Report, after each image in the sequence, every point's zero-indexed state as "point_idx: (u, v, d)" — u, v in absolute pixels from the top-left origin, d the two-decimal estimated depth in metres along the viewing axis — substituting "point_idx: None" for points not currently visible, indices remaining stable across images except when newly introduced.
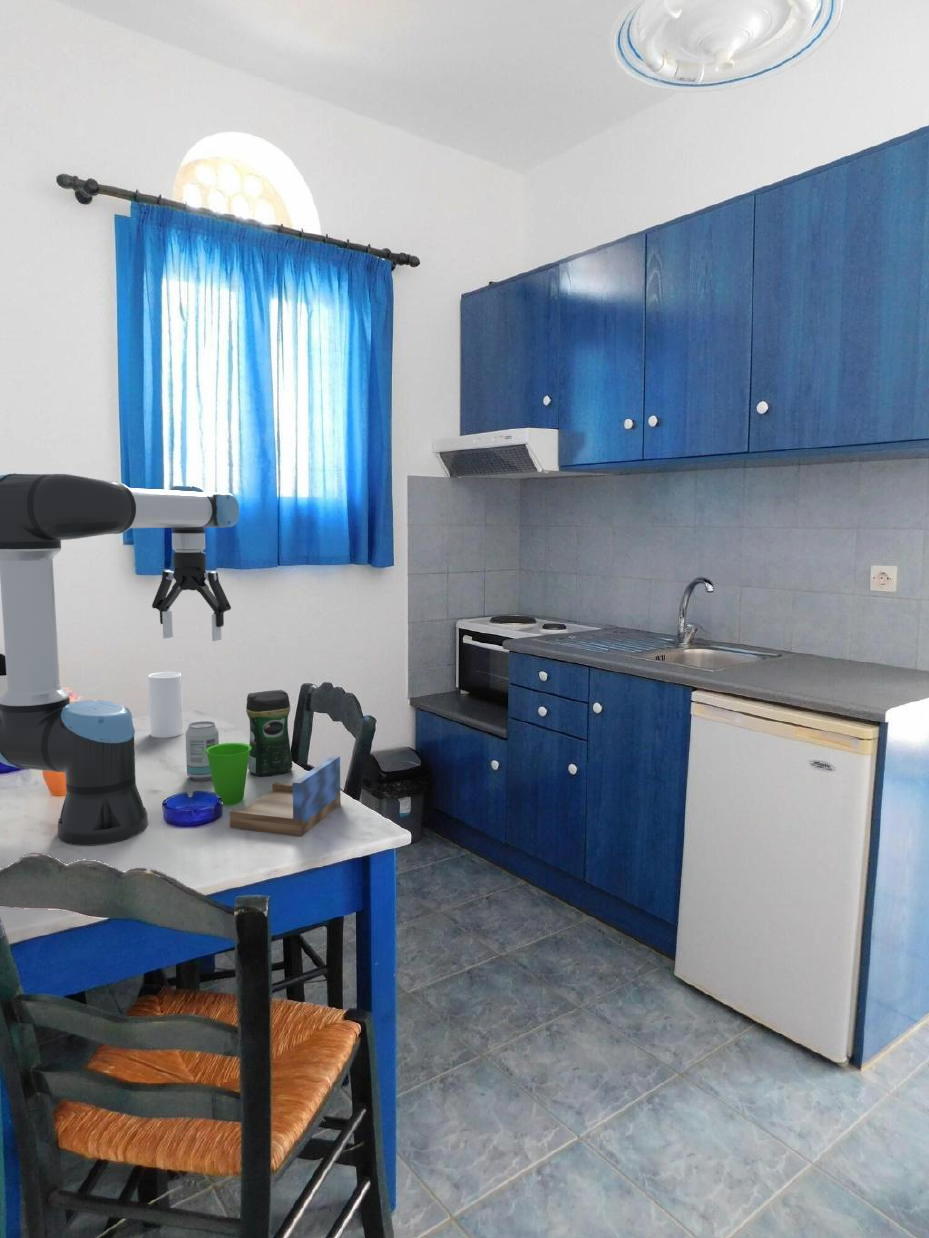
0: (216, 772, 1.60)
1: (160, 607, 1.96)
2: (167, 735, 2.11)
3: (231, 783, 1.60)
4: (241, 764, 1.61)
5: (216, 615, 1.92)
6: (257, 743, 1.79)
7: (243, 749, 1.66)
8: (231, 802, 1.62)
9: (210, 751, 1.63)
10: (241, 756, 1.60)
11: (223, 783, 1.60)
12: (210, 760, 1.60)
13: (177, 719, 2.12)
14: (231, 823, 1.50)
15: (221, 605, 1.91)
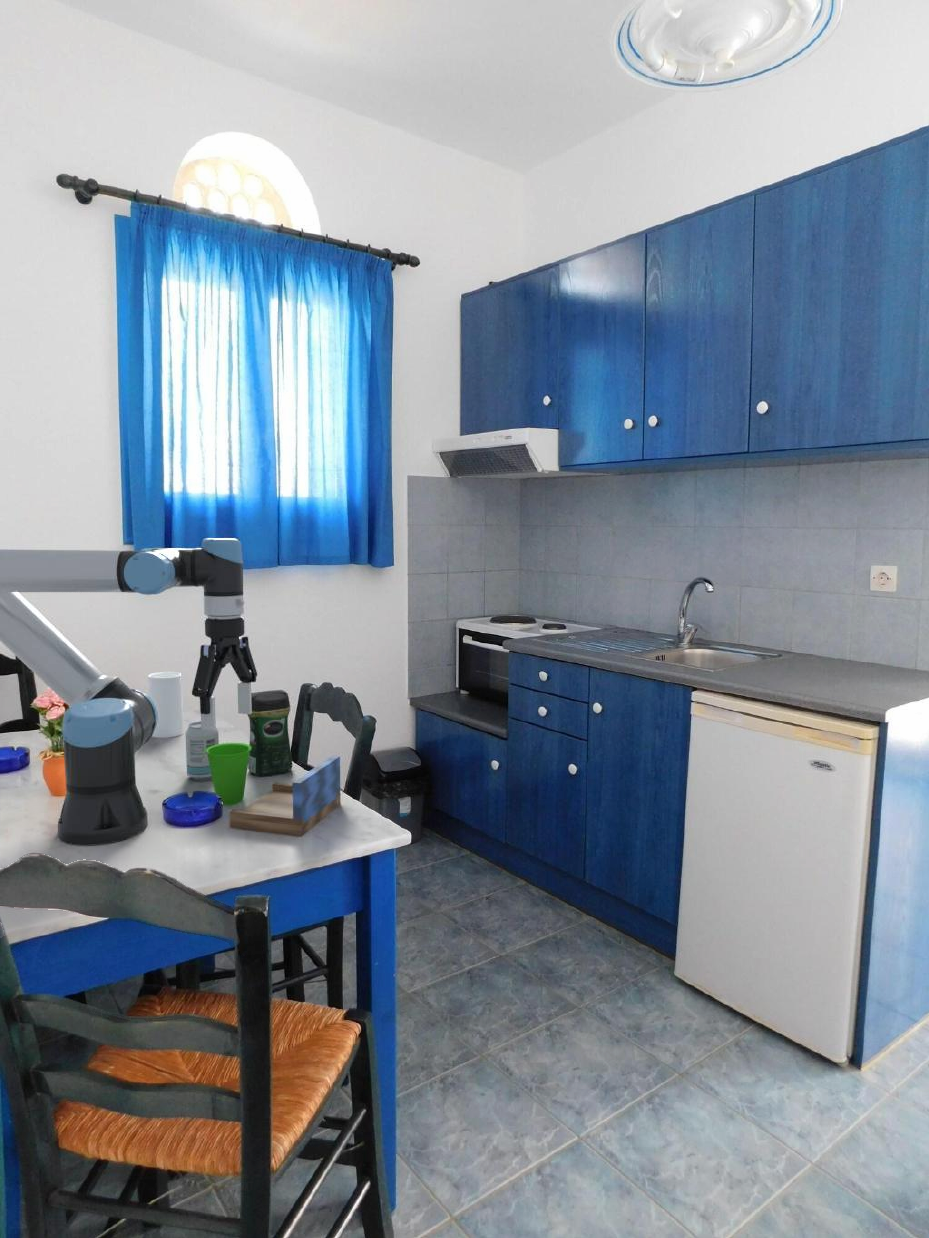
0: (216, 772, 1.60)
1: None
2: (167, 735, 2.11)
3: (231, 783, 1.60)
4: (241, 764, 1.61)
5: None
6: (257, 743, 1.79)
7: (243, 749, 1.66)
8: (231, 802, 1.62)
9: (210, 751, 1.63)
10: (241, 756, 1.60)
11: (223, 783, 1.60)
12: (210, 760, 1.60)
13: (177, 719, 2.12)
14: (231, 823, 1.50)
15: None
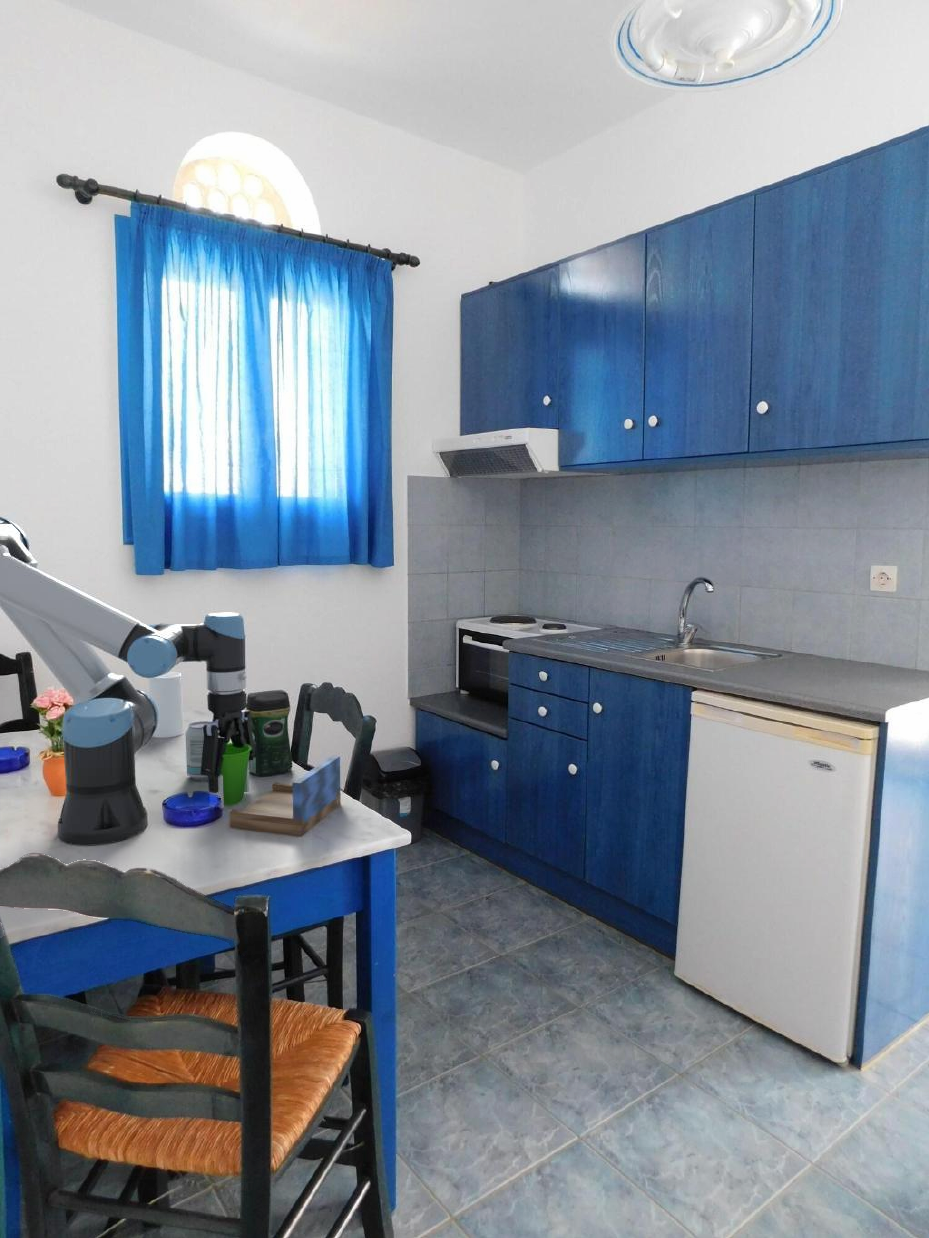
0: None
1: None
2: (167, 735, 2.11)
3: (231, 783, 1.60)
4: (241, 764, 1.61)
5: None
6: (257, 743, 1.79)
7: (243, 749, 1.66)
8: (231, 802, 1.62)
9: None
10: (241, 756, 1.60)
11: (223, 783, 1.60)
12: None
13: (177, 719, 2.12)
14: (231, 823, 1.50)
15: None
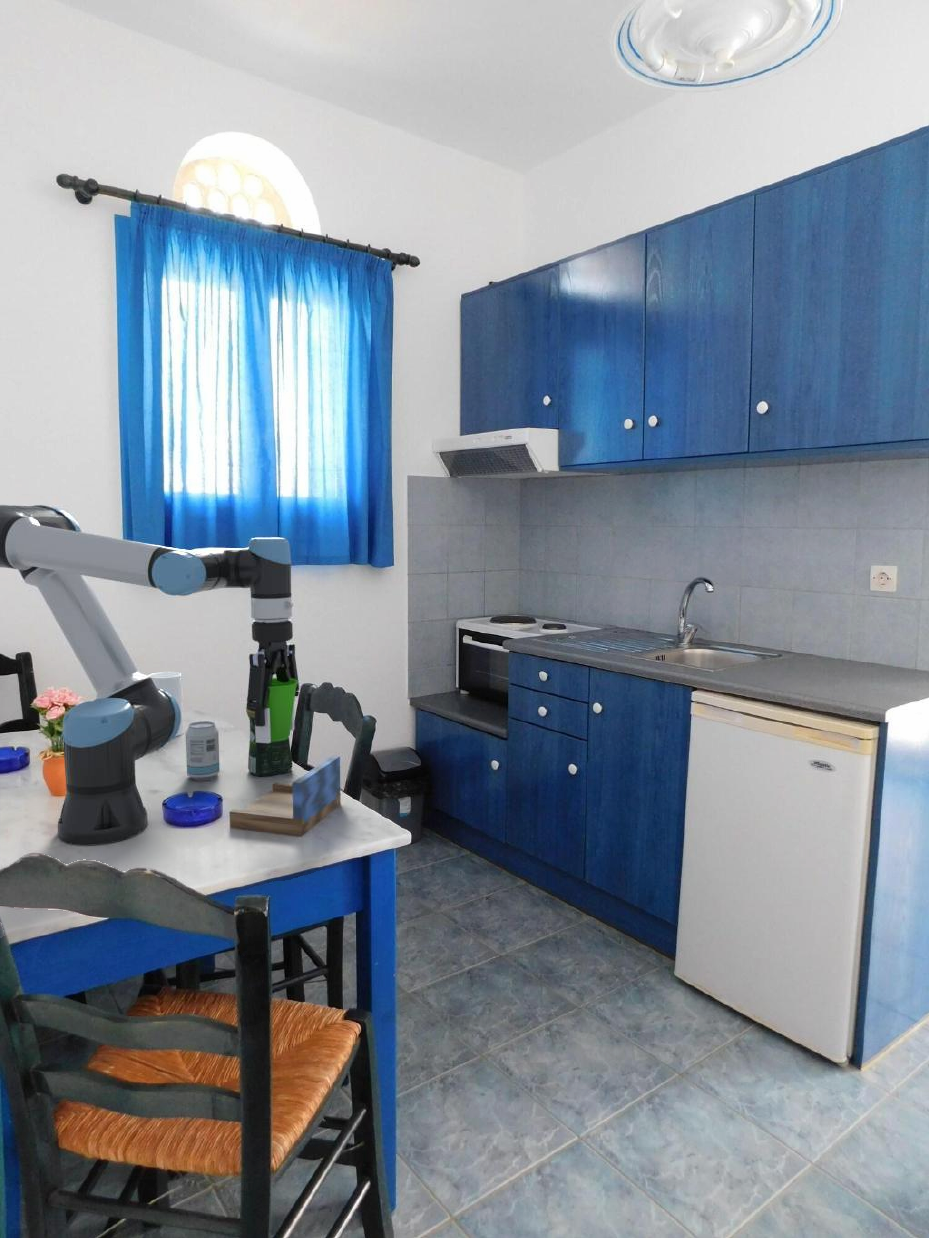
0: None
1: None
2: None
3: (278, 717, 1.52)
4: (288, 697, 1.52)
5: None
6: (257, 743, 1.79)
7: (289, 683, 1.57)
8: (278, 738, 1.53)
9: None
10: (288, 688, 1.52)
11: (270, 717, 1.51)
12: None
13: None
14: (231, 823, 1.50)
15: None
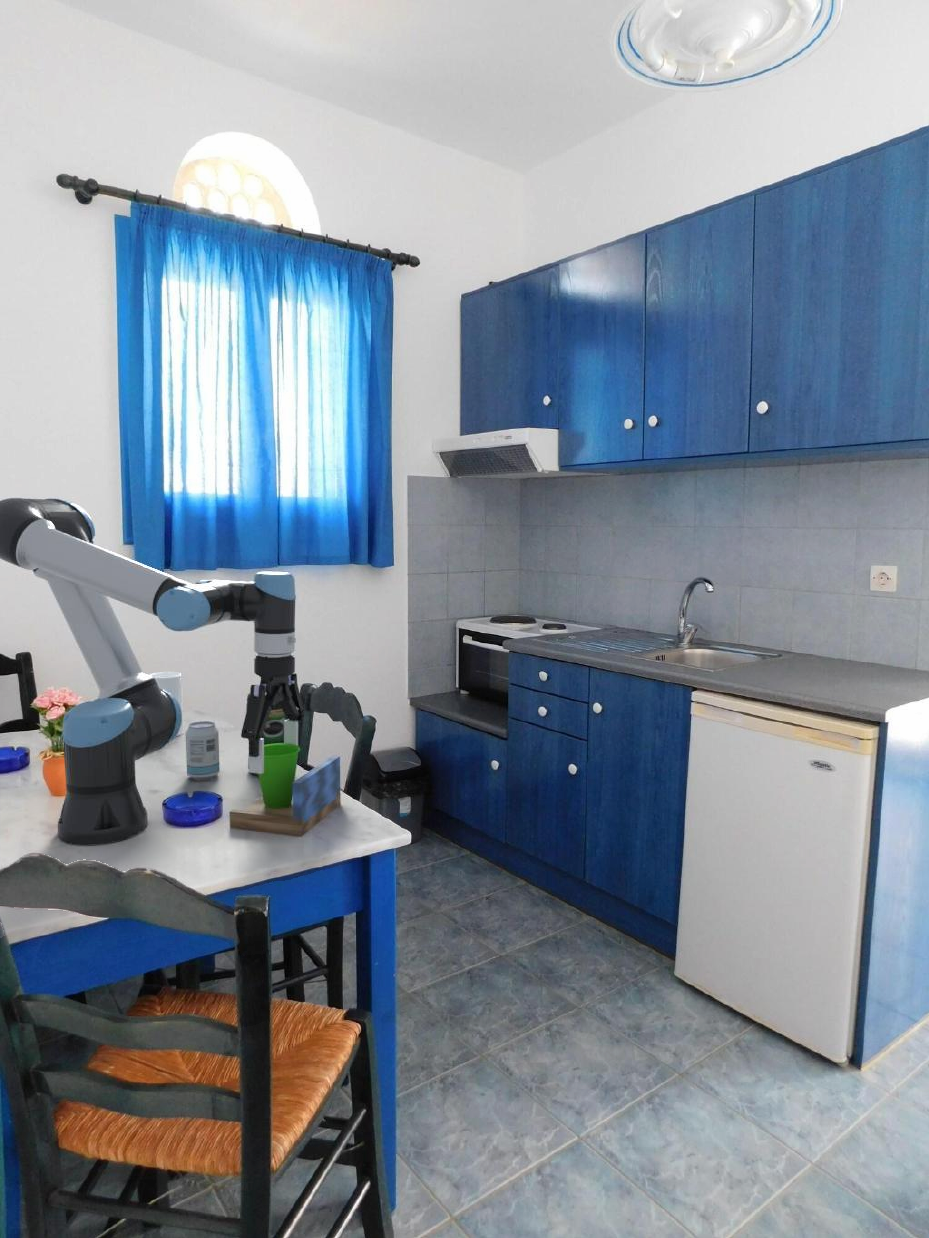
0: (265, 774, 1.52)
1: None
2: None
3: (280, 785, 1.53)
4: (290, 765, 1.53)
5: None
6: None
7: (291, 749, 1.59)
8: (280, 805, 1.54)
9: None
10: (290, 757, 1.53)
11: (272, 785, 1.53)
12: None
13: None
14: (231, 823, 1.50)
15: None
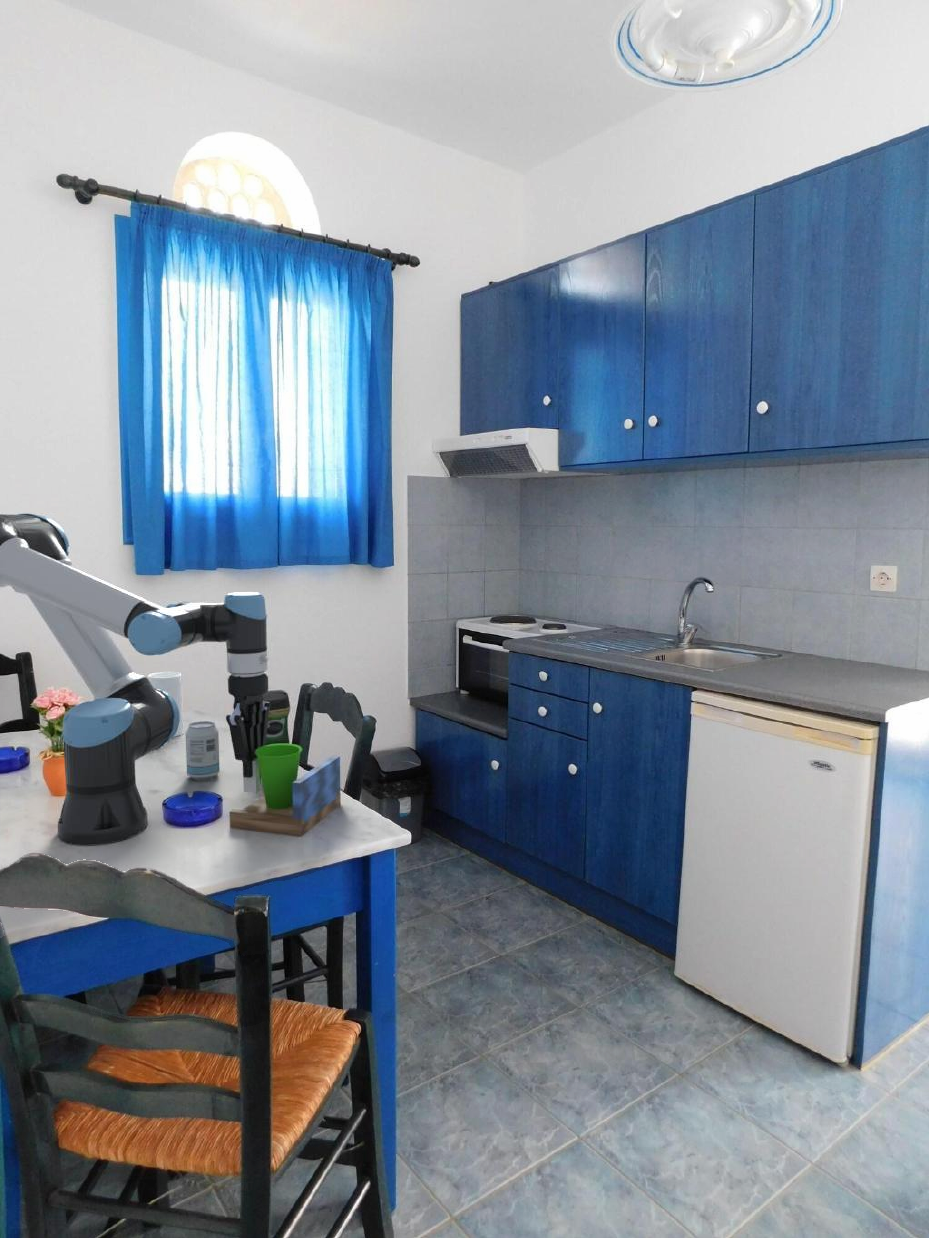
0: (267, 774, 1.52)
1: None
2: None
3: (282, 785, 1.53)
4: (292, 766, 1.53)
5: None
6: None
7: (293, 750, 1.58)
8: (282, 806, 1.54)
9: (259, 752, 1.56)
10: (292, 757, 1.53)
11: (274, 786, 1.53)
12: (260, 762, 1.53)
13: None
14: (231, 823, 1.50)
15: None
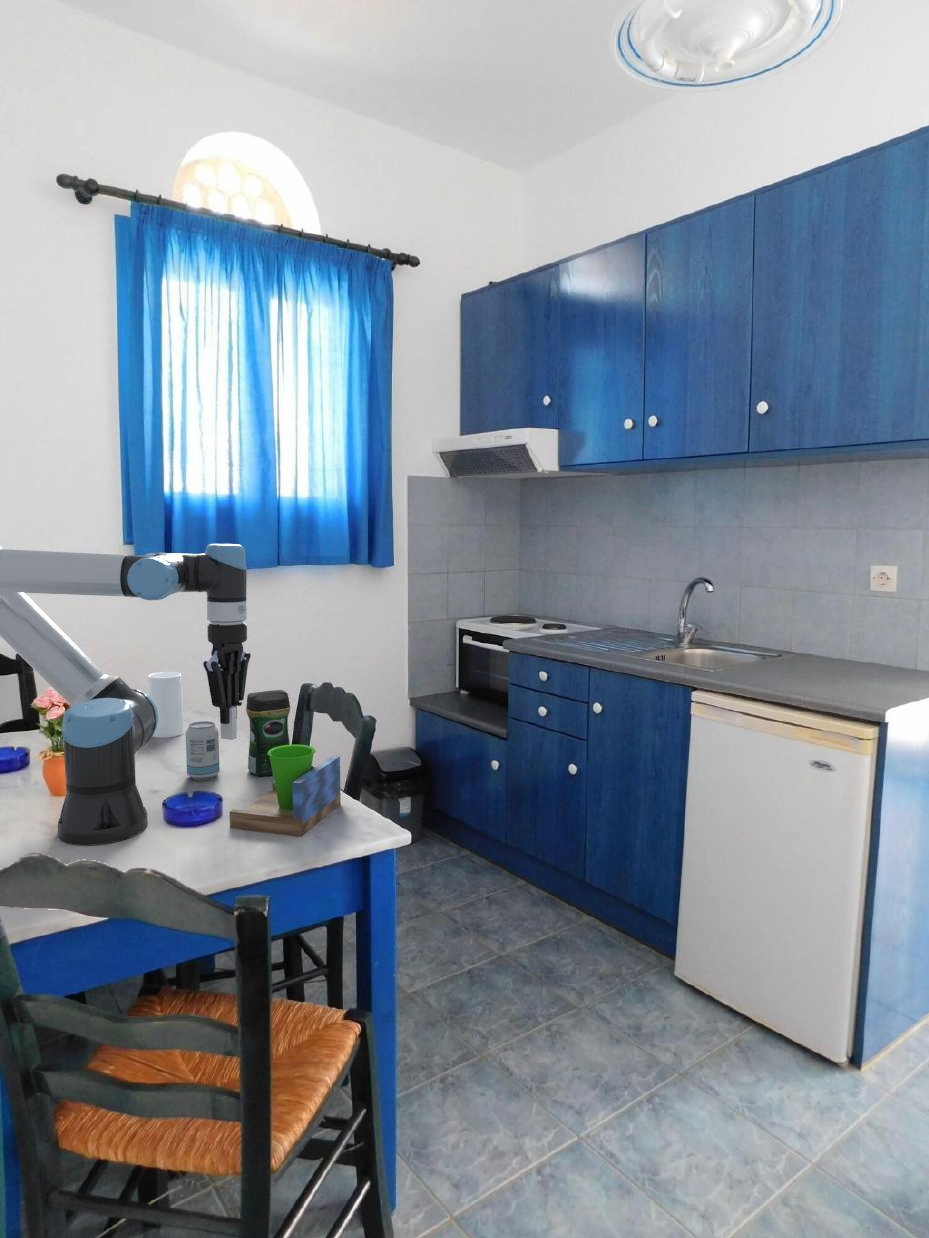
0: (280, 776, 1.52)
1: None
2: (167, 735, 2.11)
3: None
4: (305, 767, 1.53)
5: None
6: (257, 743, 1.79)
7: (306, 751, 1.58)
8: None
9: (272, 753, 1.55)
10: (306, 759, 1.52)
11: (287, 787, 1.52)
12: (273, 763, 1.52)
13: (177, 719, 2.12)
14: (231, 823, 1.50)
15: None
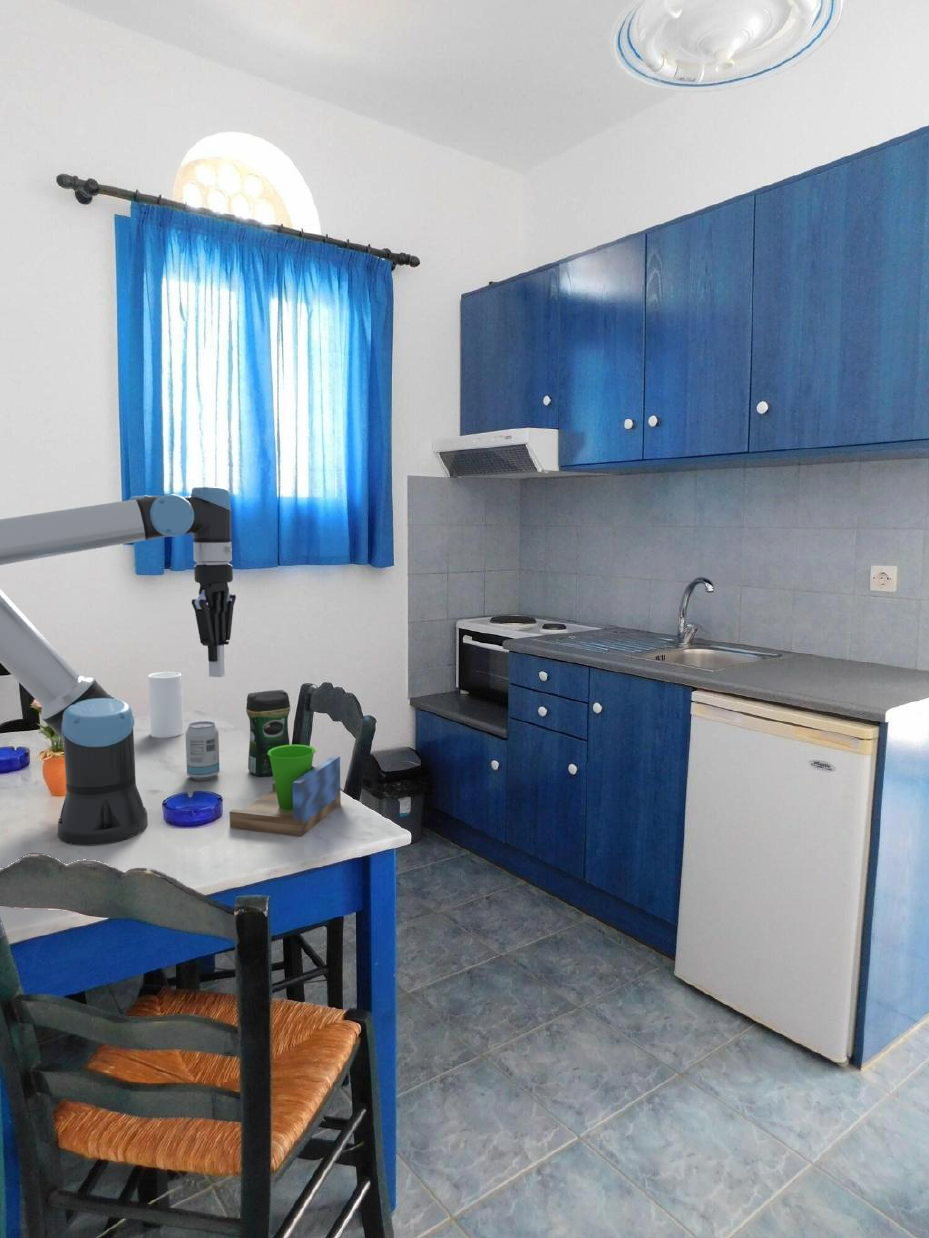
0: (280, 776, 1.52)
1: None
2: (167, 735, 2.11)
3: None
4: (305, 767, 1.53)
5: None
6: (257, 743, 1.79)
7: (306, 751, 1.58)
8: None
9: (272, 753, 1.55)
10: (306, 759, 1.52)
11: (287, 787, 1.52)
12: (273, 763, 1.52)
13: (177, 719, 2.12)
14: (231, 823, 1.50)
15: None
